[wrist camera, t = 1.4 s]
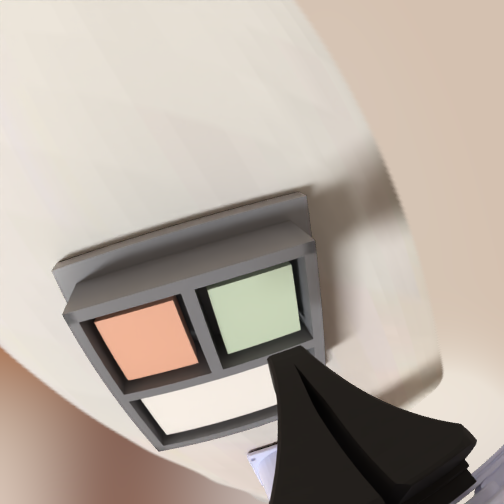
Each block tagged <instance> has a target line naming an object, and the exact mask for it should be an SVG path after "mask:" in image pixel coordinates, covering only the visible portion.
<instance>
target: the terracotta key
mask: <svg viewBox="0 0 504 504" xmlns="http://www.w3.org/2000/svg"><path fill="white" fill-rule="evenodd" d="M94 323H95V325H96V327H97V329H98V330H99V332H100V334H101V336H102V338H103V339H104V341H105V343H106V345H107V347H108V348H109V350H110V352H111V353H112V355H113V357H114V358H115V360H116V362H117V363H118V365H119V367H120V368H121V370H122V371H123V373H124V375H125V376H126V378H127V379H128V381H129V380H133V379H137V378H142V377H146V376H150V375H154V374H158V373H162V372H166V371H170V370H174V369H178V368H181V367H185V366H189V365H192V364H196V363H198V358H197V353H196V347H195V344H194V341H193V339H192V336H191V334H190V331H189V329H188V326H187V324H186V321H185V319H184V316H183V313H182V311H181V308H180V305H179V303H178V300H177V297H176V295H174V296H171V297H167V298H164V299H160V300H157V301H153V302H150V303H146V304H143V305H139V306H136V307H132V308H129V309H125V310H122V311H118V312H115V313H111V314H107V315H104V316H100V317H97V318H95V321H94Z"/></svg>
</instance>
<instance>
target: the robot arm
mask: <svg viewBox="0 0 504 504" xmlns="http://www.w3.org/2000/svg"><path fill="white" fill-rule="evenodd" d="M267 362H268V366H269V371H270V375H271V379H272V383H273V387H274V390H275V393H276V399H277V414H278V442H277V444H276V445H273V446H270V447H267V448H264V449H261V450H258V451H254V452H251V453H249V454H247V459H248V461H249V462H250V464H251V466H252V468H253V470H254V472H255V474H256V476H257V477H258V479H259V481H260V483H261V485H262V486H264V489H265V491H266V494H267V497H268V499H269V504H456V503H457V502H459V501H460V500H462V499H463V498H464V497H465V496H467V495H468V494H469V493H470V492H471V491H473V490H474V489H475V488H476V489H475V494H474V496H473V497H472V498H471V499H470V500H469V501H467V502H466V503H465V504H504V445H503V446H502V447H501V448H500V449H499V450H498V451H497V452H496V453H495V454H494V455H493V456H491V457H490V458H489V459H488V460H487V461H486V462H485V463H484V464H482V465H481V466H480V467H479V468H478V469H477V470H476V471H474V472H473V473H472V474H471V473H470V472H469V471H468V470H467V468H468V467H469V465H468V463H467V462H466V461H465V458H466V457H467V456H468V455H469V453H470V452H471V451H472V450H473V448H474V447H475V445H476V442H477V440H476V439H475V437H474V436H473V435H472V434H471V433H470V432H469V431H468V430H467V429H466V428H465V427H464V426H463V425H462V424H458V423H452V422H446V421H441V420H437V419H432V418H429V417H424V416H421V415H418V414H415V413H412V412H409V411H406V410H403V409H401V408H398V407H395V406H393V405H391V404H388V403H386V402H384V401H382V400H380V399H378V398H375V397H373V396H372V395H370V394H368V393H366V392H364V391H362V390H361V389H359V388H357V387H356V386H354V385H352V384H351V383H349V382H348V381H346V380H345V379H343V378H342V377H340V376H339V375H338V374H336V373H335V372H333V371H332V370H331V369H329V368H328V367H327V366H325V365H324V364H323V363H322V362H320V361H319V360H318V359H317V358H315V357H314V356H313V355H312V354H311V353H310V352H309V351H307V350H306V349H305V348H304V347H303V346H301V345H299V346H296V347H293V348H291V349H288V350H285V351H282V352H279V353H277V354H274V355H271V356H269V357H268V358H267Z"/></svg>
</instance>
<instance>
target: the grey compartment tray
mask: <svg viewBox="0 0 504 504" xmlns="http://www.w3.org/2000/svg"><path fill="white" fill-rule="evenodd" d="M287 261H289V262H290V263H291V265H292V272H293V279H294V286H295V293H296V300H297V307H298V314H299V322H300V329H301V330H299V331H296V332H293V333H290V334H288V335H285V336H282V337H279V338H276V339H273V340H270V341H267V342H264V343H261V344H258V345H255V346H252V347H249V348H246V349H243V350H240V351H236V352H233V353H230V354H228V352H227V349H226V347H225V344H224V341H223V338H222V335H221V332H220V329H219V326H218V323H217V319H216V316H215V313H214V310H213V307H212V304H211V301H210V298H209V294H208V291H207V288H206V286H208V285H211V284H215V283H218V282H221V281H225V280H228V279H231V278H235V277H238V276H241V275H245V274H248V273H251V272H254V271H258V270H261V269H264V268H267V267H271V266H274V265H277V264H280V263H284V262H287ZM52 273H53V275H54V277H55V279H56V281H57V284H58V286H59V288H60V290H61V292H62V294H63V296H64V298H65V300H66V302H67V305H66V307H65V310H64V312H63V314H62V315H63V317H64V319H65V321H66V322H67V324H68V326H69V328H70V329H71V331H72V333H73V335H74V336H75V338H76V340H77V341H78V343H79V345H80V346H81V348H82V350H83V351H84V353H85V354H86V356H87V358H88V359H89V361H90V362H91V364H92V365H93V367H94V368H95V370H96V371H97V373H98V374H99V376H100V377H101V379H102V380H103V382H104V383H105V385H106V386H107V387H108V389H109V390H110V392H111V393H112V394H113V396H114V397H115V398H116V400H117V401H118V403H119V404H120V405H121V407H122V408H123V409H124V410H125V412H126V413H127V414H128V416H129V417H130V418H131V419H132V421H133V422H134V423H135V424H136V426H137V427H138V428H139V429H140V430H141V432H142V433H143V434H144V435H145V436H146V438H147V439H148V440H149V441H150V442H151V443H152V445H153V446H154V447H155V448H156V449H157V450H158V451H164V450H169V449H174V448H179V447H184V446H188V445H193V444H197V443H201V442H205V441H209V440H213V439H217V438H221V437H225V436H228V435H232V434H235V433H239V432H242V431H245V430H249V429H252V428H255V427H258V426H261V425H264V424H267V423H270V422H273V421H276V420H278V414H277V404H276V405H273V406H270V407H267V408H264V409H261V410H258V411H255V412H252V413H249V414H246V415H243V416H239V417H236V418H232V419H229V420H225V421H222V422H218V423H215V424H211V425H207V426H203V427H199V428H195V429H191V430H187V431H182V432H178V433H173V434H169V435H166V433H165V432H164V431H163V429H162V428H161V427H160V425H159V424H158V423H157V421H156V420H155V419H154V417H153V416H152V415H151V413H150V412H149V410H148V409H147V408H146V406H145V405H144V403H143V402H142V400H141V399H143V398H148V397H152V396H157V395H161V394H165V393H169V392H173V391H177V390H181V389H185V388H189V387H193V386H196V385H200V384H204V383H207V382H211V381H214V380H218V379H221V378H225V377H228V376H231V375H235V374H238V373H241V372H244V371H247V370H250V369H254V368H257V367H260V366H263V365H266V364H268V362H267V358H268V357H269V356H271V355H274V354H277V353H279V352H282V351H285V350H288V349H291V348H293V347H296V346H299V345H301V346H303V347H304V348H305V349H306V350H307V351H309V352H310V353H311V354H312V355H313V356H314V357H315V358H317V359H318V360H319V361H320V362H322V363H323V364H324V365H325V366H326V363H325V346H324V331H323V317H322V305H321V293H320V282H319V272H318V262H317V253H316V244H315V240H314V239H313V238H312V235H311V227H310V219H309V211H308V204H307V197H306V195H304V194H302V193H300V192H296V193H292V194H288V195H284V196H280V197H276V198H272V199H268V200H264V201H260V202H257V203H253V204H249V205H245V206H242V207H238V208H234V209H230V210H227V211H223V212H220V213H216V214H212V215H209V216H205V217H202V218H198V219H195V220H191V221H188V222H184V223H181V224H177V225H174V226H171V227H167V228H164V229H161V230H157V231H154V232H151V233H147V234H144V235H141V236H138V237H135V238H131V239H128V240H125V241H122V242H119V243H116V244H112V245H109V246H106V247H103V248H100V249H97V250H94V251H91V252H88V253H85V254H82V255H79V256H76V257H73V258H70V259H67V260H64V261H61V262H59V263H57V264H56V265H55V267H54V268H53V270H52ZM174 295H176V297H177V300H178V303H179V305H180V308H181V311H182V313H183V316H184V319H185V321H186V324H187V326H188V329H189V331H190V334H191V336H192V339H193V341H194V344H195V347H196V353H197V358H198V363H196V364H192V365H189V366H185V367H181V368H178V369H174V370H170V371H166V372H162V373H158V374H154V375H150V376H146V377H142V378H137V379H133V380H129V381H128V379H127V378H126V376H125V375H124V373H123V371H122V370H121V368H120V367H119V365H118V363H117V362H116V360H115V358H114V357H113V355H112V353H111V352H110V350H109V348H108V347H107V345H106V343H105V341H104V339H103V338H102V336H101V334H100V332H99V330H98V329H97V327H96V325H95V323H94V321H95V318H97V317H100V316H104V315H107V314H111V313H115V312H118V311H122V310H125V309H129V308H132V307H136V306H139V305H143V304H146V303H150V302H153V301H157V300H160V299H164V298H167V297H171V296H174Z"/></svg>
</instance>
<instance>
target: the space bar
mask: <svg viewBox="0 0 504 504" xmlns="http://www.w3.org/2000/svg"><path fill="white" fill-rule="evenodd" d="M141 400H142V402H143V403H144V405H145V406H146V408H147V409H148V410H149V412H150V413H151V415H152V416H153V417H154V419H155V420H156V421H157V423H158V424H159V425H160V427H161V428H162V429H163V431H164V432H165V433H166V435H169V434H173V433H178V432H182V431H187V430H191V429H195V428H199V427H203V426H207V425H211V424H215V423H218V422H222V421H225V420H229V419H232V418H236V417H239V416H243V415H246V414H249V413H252V412H255V411H258V410H261V409H264V408H267V407H270V406H273V405H276V404H277V399H276V393H275V390H274V387H273V383H272V379H271V375H270V371H269V366H268V364H266V365H263V366H260V367H257V368H254V369H250V370H247V371H244V372H241V373H238V374H235V375H231V376H228V377H225V378H221V379H218V380H214V381H211V382H207V383H204V384H200V385H196V386H193V387H189V388H185V389H181V390H177V391H173V392H169V393H165V394H161V395H157V396H152V397H148V398H143V399H141Z"/></svg>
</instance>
